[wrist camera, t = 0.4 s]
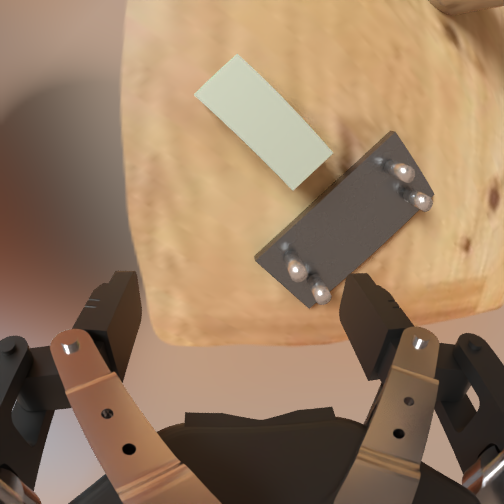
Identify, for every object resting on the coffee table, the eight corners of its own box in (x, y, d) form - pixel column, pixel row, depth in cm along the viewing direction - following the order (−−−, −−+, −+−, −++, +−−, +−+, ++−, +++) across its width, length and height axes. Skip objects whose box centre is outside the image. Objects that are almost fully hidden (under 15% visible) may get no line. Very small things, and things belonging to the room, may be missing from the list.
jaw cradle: (390, 130, 33) (413, 135, 28) (429, 191, 37) (452, 203, 32) (254, 256, 38) (259, 278, 33) (306, 303, 42) (317, 327, 37)
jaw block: (233, 65, 29) (237, 53, 23) (311, 144, 33) (333, 153, 27) (198, 98, 30) (193, 94, 24) (278, 175, 35) (293, 190, 28)
